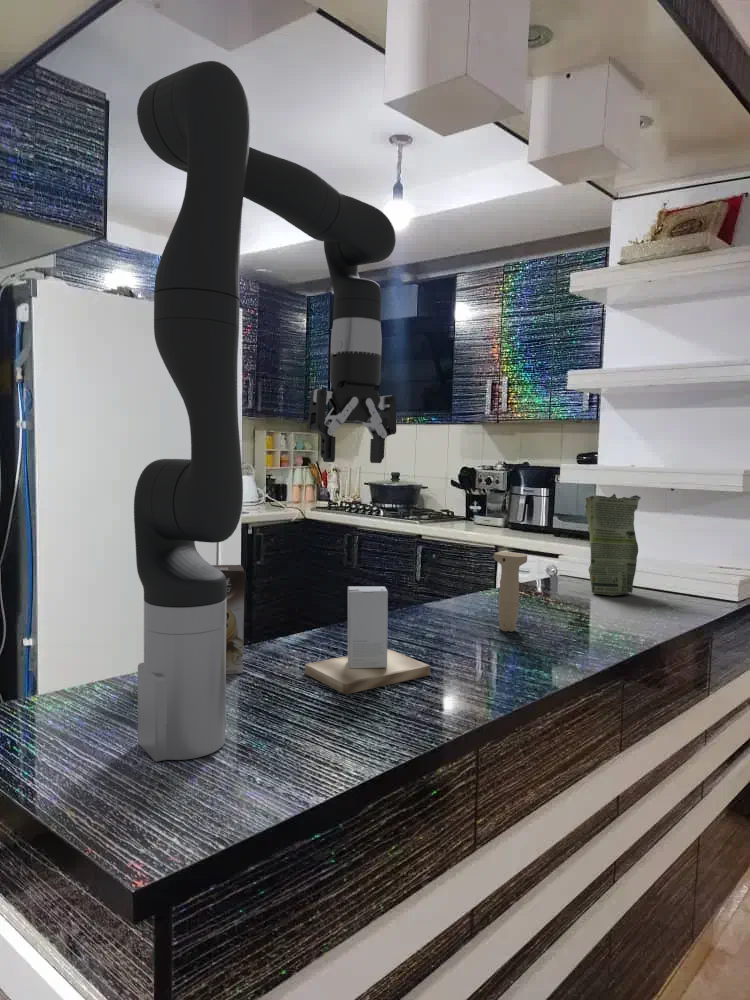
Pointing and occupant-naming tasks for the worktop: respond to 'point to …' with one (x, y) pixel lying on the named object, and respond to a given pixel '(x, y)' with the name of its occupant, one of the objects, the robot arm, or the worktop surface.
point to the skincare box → (367, 626)
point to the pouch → (612, 543)
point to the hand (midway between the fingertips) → (352, 462)
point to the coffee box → (234, 616)
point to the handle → (509, 588)
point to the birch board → (366, 673)
